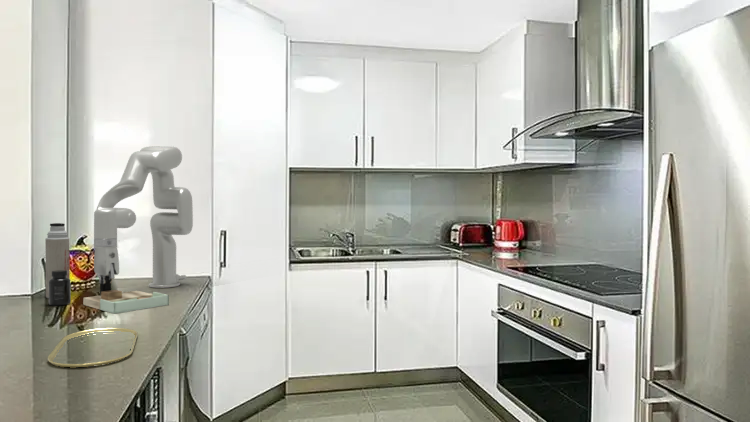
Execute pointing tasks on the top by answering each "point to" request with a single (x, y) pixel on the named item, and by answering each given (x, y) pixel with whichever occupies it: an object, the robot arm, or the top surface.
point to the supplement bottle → (59, 288)
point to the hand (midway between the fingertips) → (105, 294)
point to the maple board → (95, 300)
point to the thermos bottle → (56, 252)
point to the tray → (134, 303)
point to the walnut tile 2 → (111, 294)
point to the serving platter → (64, 339)
